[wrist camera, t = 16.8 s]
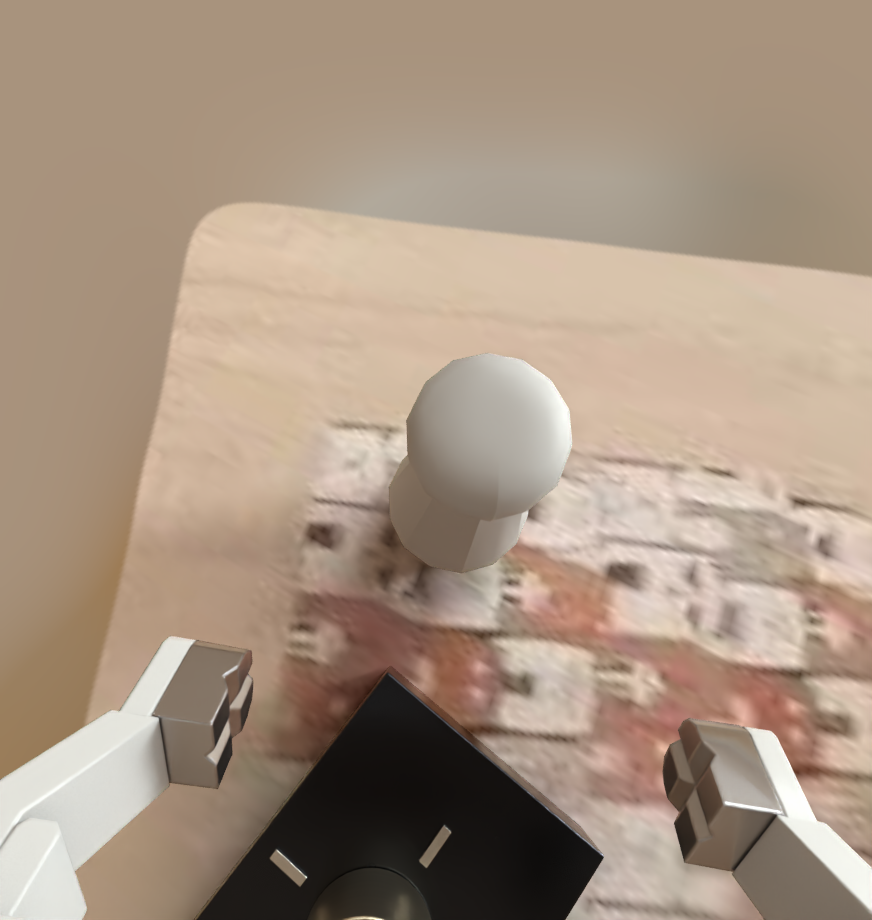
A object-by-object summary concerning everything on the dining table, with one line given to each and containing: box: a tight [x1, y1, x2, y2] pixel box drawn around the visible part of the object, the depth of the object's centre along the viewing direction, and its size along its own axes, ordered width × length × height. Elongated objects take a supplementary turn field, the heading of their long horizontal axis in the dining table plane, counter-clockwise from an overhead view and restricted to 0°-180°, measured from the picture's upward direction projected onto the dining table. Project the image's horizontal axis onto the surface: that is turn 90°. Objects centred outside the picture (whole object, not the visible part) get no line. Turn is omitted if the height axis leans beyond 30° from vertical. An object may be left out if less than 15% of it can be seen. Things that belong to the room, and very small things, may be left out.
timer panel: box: [194, 666, 604, 920], centre depth 21 cm, size 14×10×3 cm
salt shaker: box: [389, 353, 572, 573], centre depth 21 cm, size 6×6×13 cm
